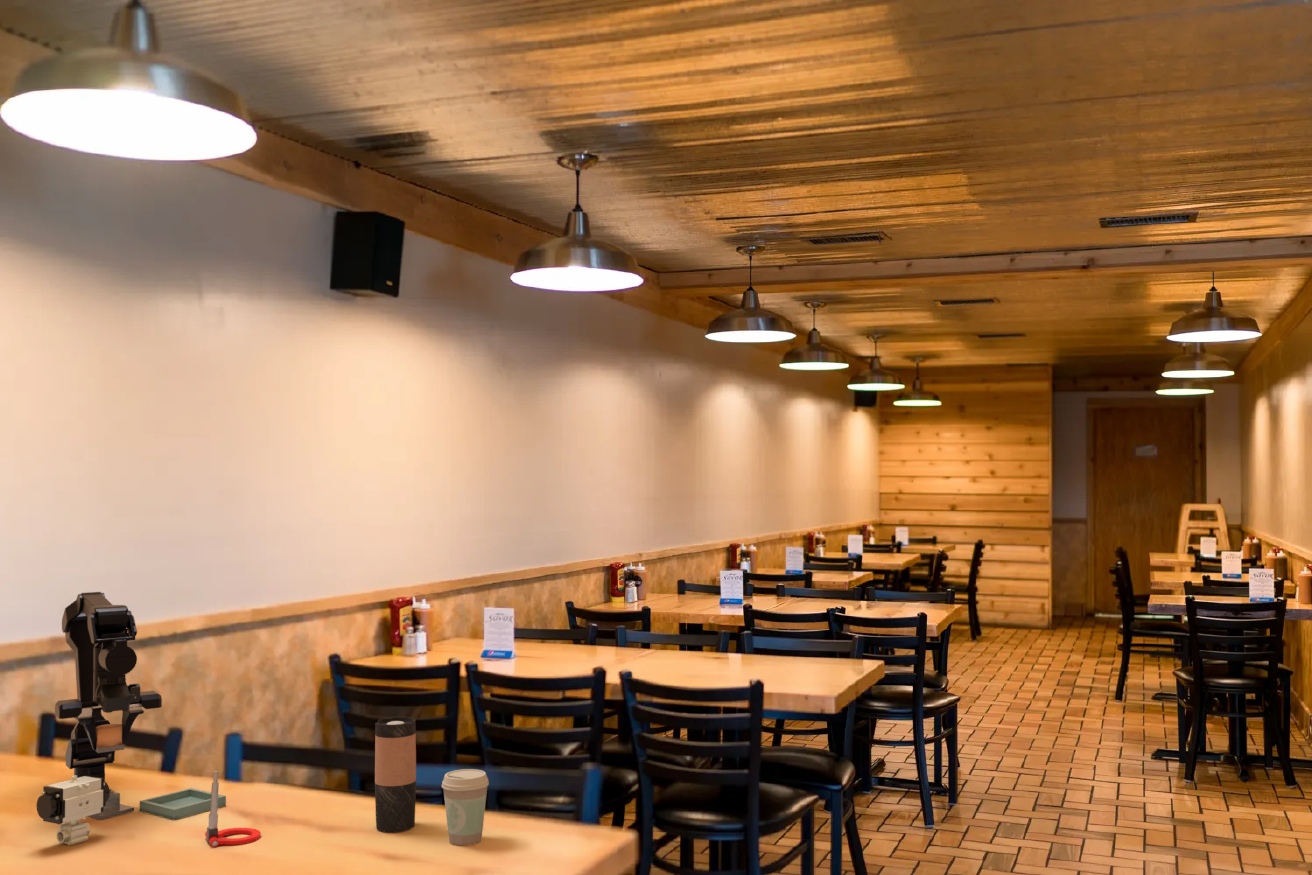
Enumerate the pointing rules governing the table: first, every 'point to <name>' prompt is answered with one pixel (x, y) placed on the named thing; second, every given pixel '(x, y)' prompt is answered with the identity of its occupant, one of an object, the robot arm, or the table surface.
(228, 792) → the table surface
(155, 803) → the bin
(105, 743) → the tan cylindrical plug
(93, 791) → the pneumatic valve
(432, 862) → the table surface
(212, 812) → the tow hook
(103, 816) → the stud fixture
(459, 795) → the coffee cup
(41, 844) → the table surface
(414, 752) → the travel mug
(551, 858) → the table surface
